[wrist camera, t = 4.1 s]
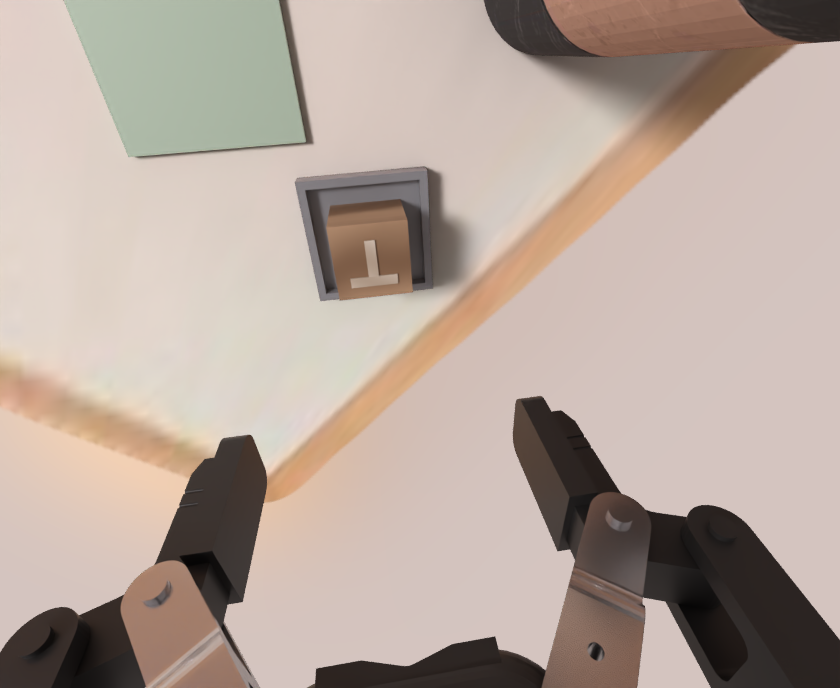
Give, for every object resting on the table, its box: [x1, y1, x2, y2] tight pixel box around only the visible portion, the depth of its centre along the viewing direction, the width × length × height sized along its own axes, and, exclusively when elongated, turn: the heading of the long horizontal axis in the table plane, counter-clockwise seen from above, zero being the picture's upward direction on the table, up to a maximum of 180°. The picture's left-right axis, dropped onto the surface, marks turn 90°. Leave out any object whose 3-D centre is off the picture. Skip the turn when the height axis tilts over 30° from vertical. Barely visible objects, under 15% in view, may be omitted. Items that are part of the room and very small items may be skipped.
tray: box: [295, 167, 433, 301], centre depth 28 cm, size 8×8×1 cm
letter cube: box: [326, 199, 413, 300], centre depth 26 cm, size 5×4×5 cm
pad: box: [64, 0, 306, 157], centre depth 22 cm, size 10×10×1 cm
